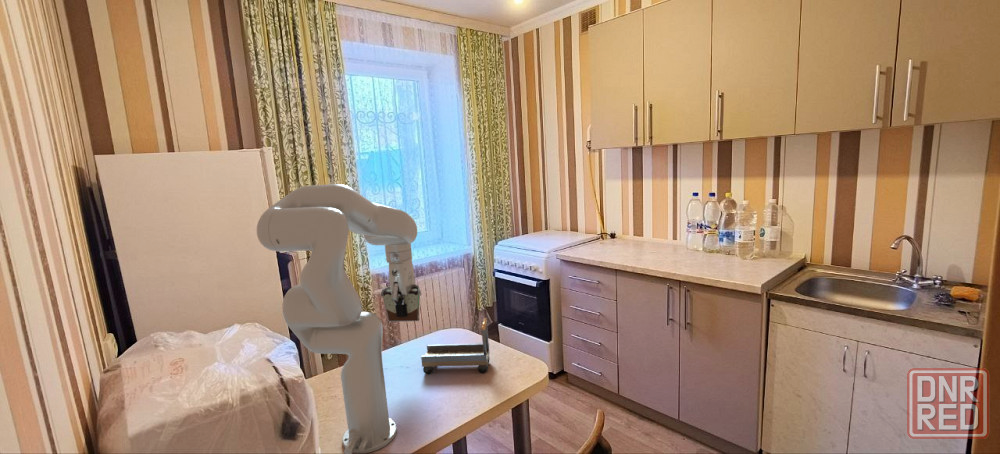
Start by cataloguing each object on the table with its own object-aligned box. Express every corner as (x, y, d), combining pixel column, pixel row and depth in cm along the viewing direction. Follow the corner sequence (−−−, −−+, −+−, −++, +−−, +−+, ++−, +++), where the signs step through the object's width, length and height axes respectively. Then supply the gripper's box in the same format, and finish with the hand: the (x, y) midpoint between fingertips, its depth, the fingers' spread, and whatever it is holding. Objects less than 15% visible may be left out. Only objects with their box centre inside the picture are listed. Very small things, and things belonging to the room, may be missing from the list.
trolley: (488, 374, 128) (484, 327, 126) (423, 375, 130) (418, 329, 127) (490, 361, 136) (487, 317, 134) (429, 362, 138) (424, 319, 135)
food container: (428, 313, 133) (425, 282, 131) (423, 321, 127) (420, 289, 125) (391, 313, 134) (387, 283, 132) (383, 321, 128) (380, 290, 126)
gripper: (402, 262, 118) (408, 324, 121) (419, 248, 134) (424, 302, 138) (376, 263, 118) (383, 324, 122) (396, 249, 135) (402, 303, 138)
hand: (405, 312), depth 130 cm, fingers closed on food container, 5 cm apart
